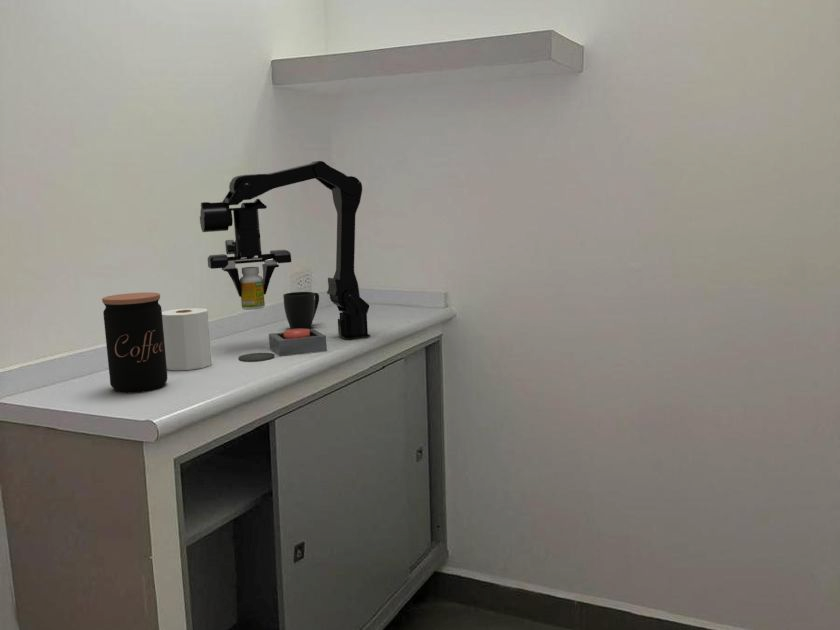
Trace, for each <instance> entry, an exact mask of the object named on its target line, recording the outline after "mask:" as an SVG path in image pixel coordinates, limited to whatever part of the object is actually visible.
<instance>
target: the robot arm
mask: <svg viewBox="0 0 840 630" xmlns="http://www.w3.org/2000/svg"><path fill="white" fill-rule="evenodd" d="M314 179H315V180H316V181H318V182H319V183H320V184H322V185H323V186H324V187H325V188H327V189H328V190H330V191H331V194H332V200H333V204H334V209H335V211H336V215H337V216H336V260H335V261H336V265H335V273H334V275H333V277H327V285H328V287H327V289H328V290H327V291H326V294H327V295H329V300H330V301H331V303H333V304H334V305H336V307H337V309H338V312H339V318H338V319H337V331H338V334H337V335H338V337H340V338H342V339H344V340H351V339H353V340H354V339H360V338H361V339H362V338H370V337H371V334H369V331H368V313H369V309H370V304H368V302H367V301H365V300H364V299H363V298H362V297H361V295H360V289H359V288H360V287H359V282H358V279H357V276H356V274H355V253H356V252H355V250H356V247H355V246H356V245H355V242H356V213H357V211H358V208H359V206H360V203H361V199H362V194H363V184H362V182H361V181H360V180H359V178H357V177H356V176H353V175H350V176H348V175H346V174H345V173H344V172H341V171H340V170H338V169H336V168H334V167H332V166H330V165H329V164H327V163H326V162H324V161H323V160H318V161H317V160H315V161H312V162H311V163H308V164H303V165H297V166H295V167H290V168H287V169H282V170H278V171H274V172H269V173H257V174H255V173H253V174H242V175H237V176H235V177H233V178H231V180H230V182H229V186H228V187H229V188H228V189H229V190H228V192H227V194H226V195H225V197H224V198H223V200H222V201H220V202H218V201H217V202H209V201H208V202H200V214H199V215H200V216H199V225H200V229H201V232H202V233H210V232H211V233H213V232H226V231H229V227H232V226H233V225H234V226H233V227H234V236H235V237H234V238H235V240H234V239H225V241H224V245H225V254H224V253H221V254H210V255H209V256H207V267H208V268H209V269H211V270H212V269H213V270H215V269H221V270H222V271H223V272H227V274H228V275H229V277H230V278H231V280H232V283H233V285H234V288H235V290H236V293H237V294H238V297H239V298H241V286H240V274H239V269H238V267H236V265H240V264H251V263H262V265H261V266H262V279H263V289H264V296H265V295H266V294H267V291H268V288H269V284H270V281H271V278H272V276H273V273H274V271H275V269H276V268H279V267H280V265H279V264H287V263H292V255H291V252H290V251H289V250H287V249H276V250H270V251H269V253H262V242H261V241H262V240H261V231H260V230H261V229H260V218H259V210H263V209H264V210H266V209H267V208H268V206H267V204H265V203H264V202H262V201H261V199H260V198H257V197H259V196H262V195H263V194H264V195H265V194H266V193H267V192H269V191H271V190H273V189H278V188H283V187H285V186H286V187H287V186H289V185H294V184H296V183H301V182H304V181H305V182H306V181H309V180H314ZM252 199H255V200H254V201H253V202H252V201H251V200H252ZM248 200H250V201H251V202H243V201H248ZM239 204H241V205H240V207H231V208H230V206H237V205H238V206H239ZM228 255H234V256H228Z"/></svg>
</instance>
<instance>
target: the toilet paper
mask: <svg viewBox="0 0 840 630" xmlns="http://www.w3.org/2000/svg"><path fill="white" fill-rule="evenodd" d="M208 314H209V311H208V308H201V307H197V308H196V307H194V308H193V307H191V308H187V307H185V308H177V309H168V310H165V311H162V320H163V332H164V343H165V354H166V366H167V371H168V370H169V371H192V370H197V369H198V370H199V369H203V368H207V367H209V366H211V365H212V363H213V362H212V352H211V337H210V325H209V315H208Z"/></svg>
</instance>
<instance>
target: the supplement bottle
mask: <svg viewBox="0 0 840 630" xmlns="http://www.w3.org/2000/svg"><path fill="white" fill-rule="evenodd" d="M259 274H260V267H259V266H245V267H241V275H242V276H241V277H239V280H240V286H241V297H240V303H241V308H242V309H243V310H247V311H251V310H252V311H253V310H260V309H264V308H265V306H266V305H265V304H266V303H265V295H264V289H263V276H261V275H259Z"/></svg>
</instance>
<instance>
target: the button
mask: <svg viewBox="0 0 840 630" xmlns="http://www.w3.org/2000/svg"><path fill="white" fill-rule="evenodd" d="M310 330H311V329H304V328H298V329H289V328H288V329H286V330H283V332H284V339H291V338H301V337H310Z"/></svg>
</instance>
